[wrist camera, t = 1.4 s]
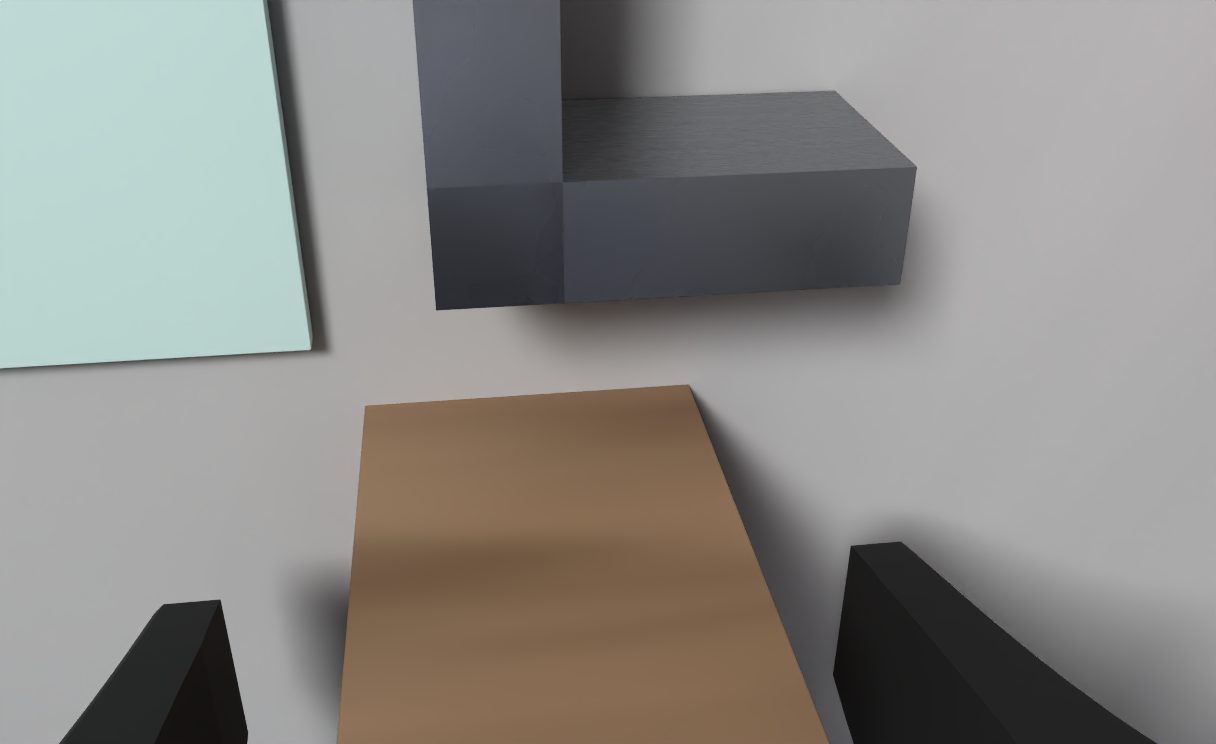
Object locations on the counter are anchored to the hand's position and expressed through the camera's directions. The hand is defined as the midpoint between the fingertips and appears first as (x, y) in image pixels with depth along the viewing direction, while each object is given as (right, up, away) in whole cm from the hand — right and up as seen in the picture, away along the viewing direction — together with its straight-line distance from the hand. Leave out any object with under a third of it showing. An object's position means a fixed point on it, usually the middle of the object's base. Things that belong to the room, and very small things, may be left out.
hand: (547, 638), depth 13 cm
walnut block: (0, +1, +2) cm, 2 cm away
